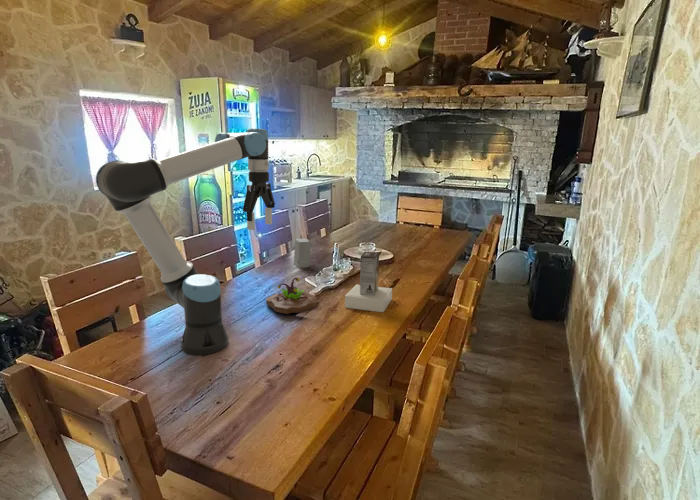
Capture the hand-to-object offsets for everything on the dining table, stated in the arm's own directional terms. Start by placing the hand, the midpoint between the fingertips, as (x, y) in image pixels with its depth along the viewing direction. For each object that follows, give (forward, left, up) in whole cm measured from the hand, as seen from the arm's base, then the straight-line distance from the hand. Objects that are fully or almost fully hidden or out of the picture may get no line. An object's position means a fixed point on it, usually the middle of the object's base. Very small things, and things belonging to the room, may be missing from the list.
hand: (260, 226), depth 164 cm
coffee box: (+18, -40, -28) cm, 52 cm away
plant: (+7, -10, -33) cm, 35 cm away
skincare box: (+58, +8, -33) cm, 67 cm away
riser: (+18, -40, -33) cm, 54 cm away
